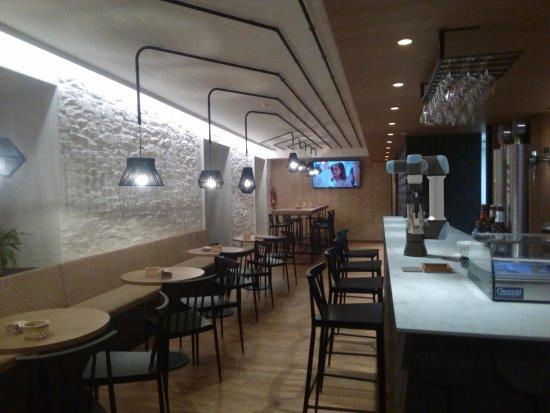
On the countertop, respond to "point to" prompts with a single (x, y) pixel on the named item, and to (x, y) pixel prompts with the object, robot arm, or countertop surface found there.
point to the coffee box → (410, 218)
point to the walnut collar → (436, 268)
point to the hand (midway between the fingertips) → (415, 223)
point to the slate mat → (411, 269)
